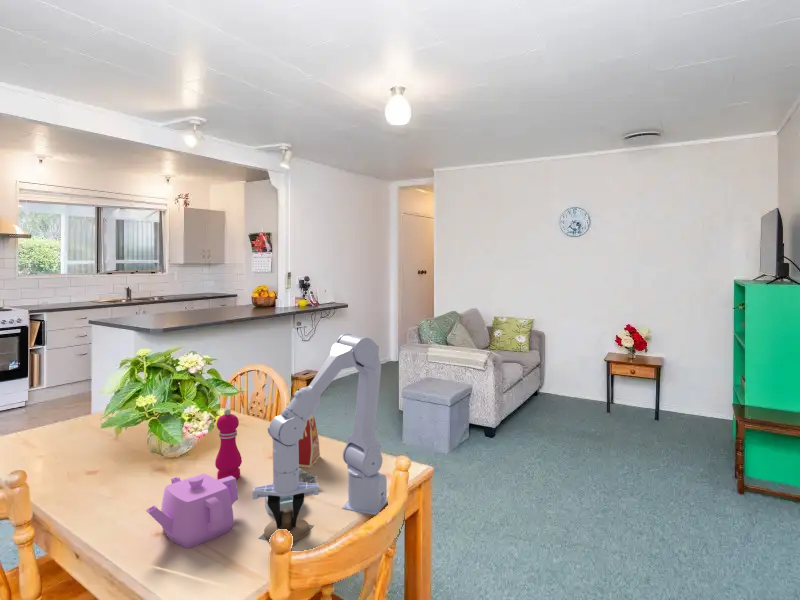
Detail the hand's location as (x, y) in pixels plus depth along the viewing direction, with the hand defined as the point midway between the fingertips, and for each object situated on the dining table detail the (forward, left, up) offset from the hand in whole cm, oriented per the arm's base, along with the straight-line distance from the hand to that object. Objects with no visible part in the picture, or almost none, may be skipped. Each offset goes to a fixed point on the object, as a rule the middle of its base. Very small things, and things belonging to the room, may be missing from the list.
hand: (286, 525), depth 113 cm
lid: (0, 0, -1) cm, 1 cm away
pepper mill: (+32, -20, -2) cm, 38 cm away
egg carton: (+10, -22, -2) cm, 24 cm away
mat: (0, 0, -2) cm, 2 cm away
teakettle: (+21, +6, -2) cm, 22 cm away
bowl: (+7, -10, -2) cm, 12 cm away
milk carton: (+18, -37, -2) cm, 41 cm away
